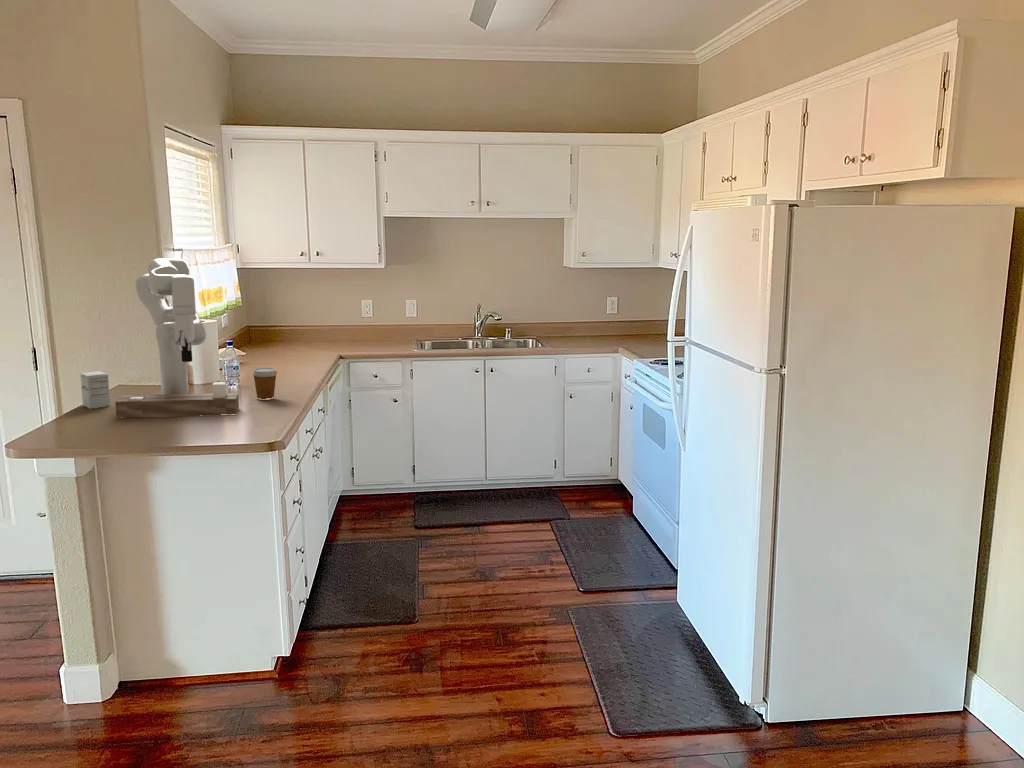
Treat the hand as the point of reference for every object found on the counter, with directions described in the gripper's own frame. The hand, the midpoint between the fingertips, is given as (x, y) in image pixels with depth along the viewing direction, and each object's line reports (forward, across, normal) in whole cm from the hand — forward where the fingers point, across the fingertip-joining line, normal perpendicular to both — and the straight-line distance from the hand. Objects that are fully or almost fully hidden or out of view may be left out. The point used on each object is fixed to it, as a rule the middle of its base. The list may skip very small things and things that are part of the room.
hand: (187, 361), depth 275 cm
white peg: (+14, -2, +10) cm, 18 cm away
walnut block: (+19, -1, -4) cm, 20 cm away
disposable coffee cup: (+19, -25, +23) cm, 39 cm away
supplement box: (+19, -14, -36) cm, 43 cm away
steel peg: (+19, 0, -18) cm, 26 cm away
